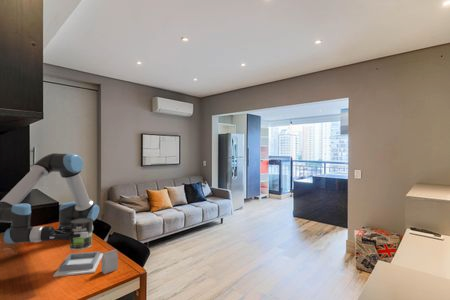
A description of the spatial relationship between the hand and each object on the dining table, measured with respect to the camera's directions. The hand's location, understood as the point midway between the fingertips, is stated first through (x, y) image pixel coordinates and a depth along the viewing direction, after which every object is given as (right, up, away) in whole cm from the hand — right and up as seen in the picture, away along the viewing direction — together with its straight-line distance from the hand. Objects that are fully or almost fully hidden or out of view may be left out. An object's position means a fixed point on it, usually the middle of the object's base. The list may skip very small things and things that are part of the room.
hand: (90, 231), depth 130 cm
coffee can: (-4, -8, -1) cm, 9 cm away
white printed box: (+14, -19, -6) cm, 24 cm away
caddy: (-5, -18, -1) cm, 18 cm away
